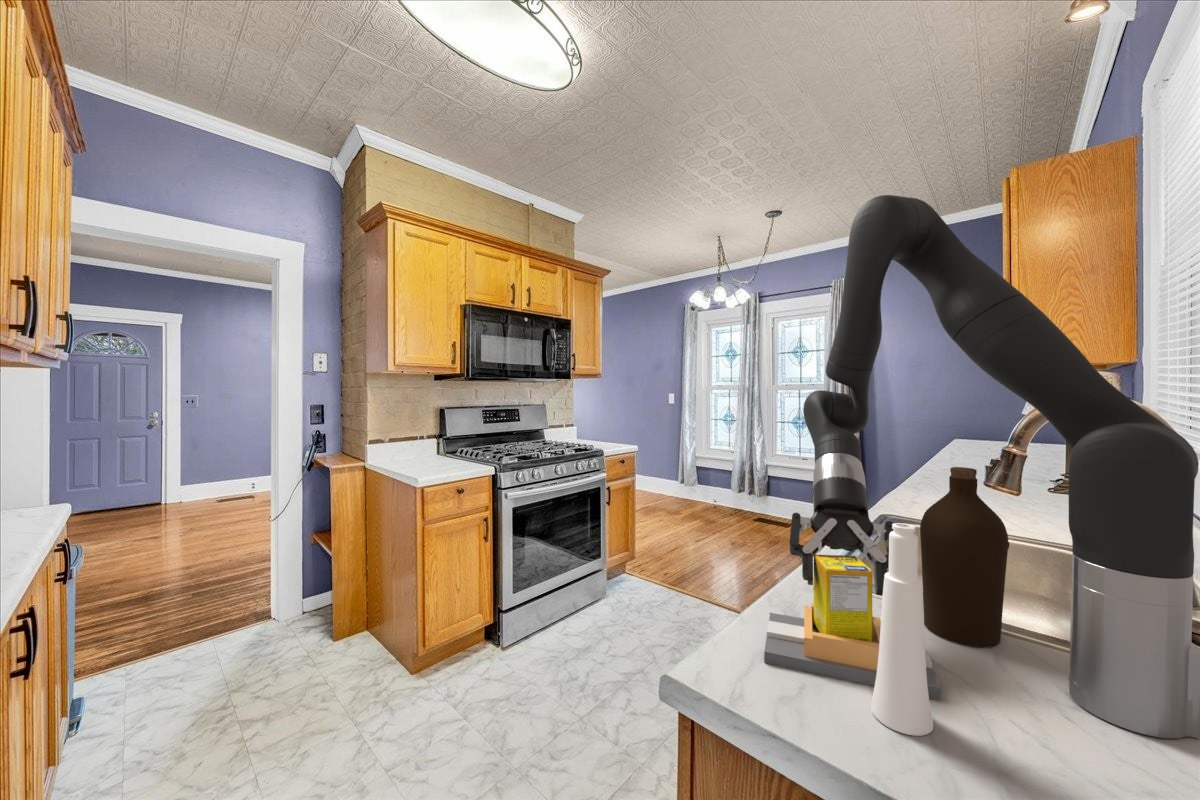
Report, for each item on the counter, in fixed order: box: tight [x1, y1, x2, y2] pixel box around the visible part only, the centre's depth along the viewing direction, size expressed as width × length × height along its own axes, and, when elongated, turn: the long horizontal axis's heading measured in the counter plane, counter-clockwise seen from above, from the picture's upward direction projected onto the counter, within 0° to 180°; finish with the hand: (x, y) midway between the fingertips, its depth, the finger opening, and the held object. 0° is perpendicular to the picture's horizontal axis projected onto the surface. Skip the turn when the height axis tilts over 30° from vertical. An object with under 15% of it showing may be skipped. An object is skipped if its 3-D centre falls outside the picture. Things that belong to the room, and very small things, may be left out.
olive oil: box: [919, 466, 1010, 649], centre depth 72 cm, size 11×11×25 cm
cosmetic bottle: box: [870, 522, 934, 737], centre depth 54 cm, size 6×6×22 cm
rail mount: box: [763, 603, 942, 701], centre depth 66 cm, size 20×12×4 cm, turn 67°
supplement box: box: [813, 553, 873, 642], centre depth 66 cm, size 6×6×11 cm
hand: (844, 587), depth 65 cm, fingers open, 8 cm apart
